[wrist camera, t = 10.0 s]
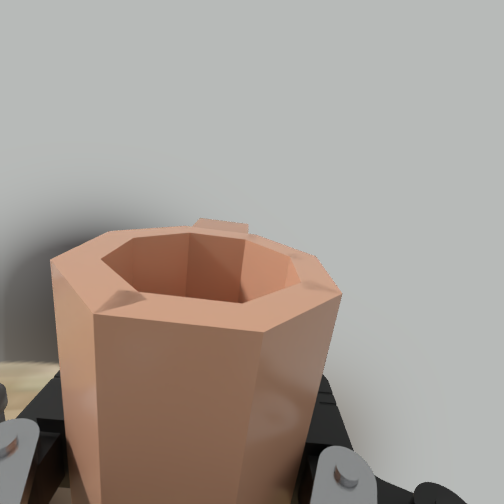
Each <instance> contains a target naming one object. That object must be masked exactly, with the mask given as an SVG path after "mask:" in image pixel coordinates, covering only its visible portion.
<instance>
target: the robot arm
mask: <svg viewBox="0 0 504 504" xmlns="http://www.w3.org/2000/svg"><path fill="white" fill-rule="evenodd" d="M58 487H60V488H70V478H69V467H68V456H67V444H66V433H65V421H64V410H63V399H62V387H61V376H60V370H59V371H58V373H57V374H56V375H55V376H54V378H53V379H51V380H50V381H49V382H48V384H47V385H46V386H45V387H44V388H43V389H42V390H41V391H40V392H39V393H38V395H37V396H36V397H35V398H34V399H33V400H32V401H31V402H30V403H29V404H28V405H27V407H26V408H25V409H24V410H23V411H22V412H21V413H20V414H19V415H18V416H17V418H16V419H11V420H7V421H4V422H1V423H0V504H49V502H50V501H51V499H52V497H53V496H54V494H55V492H56V491H57V489H58ZM290 504H466V503H465V502H464V501H463V500H462V499H461V498H460V497H459V496H458V495H456V494H455V493H453V492H452V491H450V490H449V489H447V488H445V487H444V486H441V485H439V484H436V483H431V482H424V483H421V484H419V485H418V486H417V487H416V489H415V491H414V493H412V492H409V491H407V490H405V489H402V488H400V487H397V486H395V485H392V484H390V483H387V482H385V481H383V480H381V479H380V478H378V477H376V476H375V475H374V474H373V471H372V470H371V468H370V466H369V465H368V464H367V462H366V461H365V460H364V459H363V458H362V457H361V456H359V455H358V454H357V453H356V452H354V450H353V448H352V445H351V442H350V440H349V437H348V434H347V431H346V429H345V426H344V423H343V420H342V418H341V415H340V412H339V409H338V407H337V406H336V401H335V399H334V396H333V395H332V390H331V387H330V385H329V382H328V380H327V379H326V377H325V376H324V375H323V374H322V378H321V382H320V386H319V390H318V394H317V398H316V402H315V406H314V410H313V414H312V418H311V422H310V426H309V430H308V434H307V438H306V442H305V447H304V451H303V455H302V459H301V463H300V467H299V471H298V475H297V479H296V483H295V487H294V491H293V495H292V499H291V503H290Z"/></svg>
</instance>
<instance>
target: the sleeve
mask: <svg viewBox="0 0 504 504" xmlns="http://www.w3.org/2000/svg"><path fill="white" fill-rule="evenodd" d="M50 262H51V274H52V285H53V295H54V308H55V319H56V331H57V341H58V353H59V365H60V376H61V387H62V399H63V410H64V421H65V433H66V444H67V456H68V467H69V478H70V490H71V501H72V504H290V503H291V499H292V495H293V491H294V487H295V483H296V479H297V475H298V471H299V467H300V463H301V459H302V455H303V451H304V447H305V442H306V438H307V434H308V430H309V426H310V422H311V418H312V414H313V410H314V406H315V402H316V398H317V394H318V390H319V386H320V382H321V378H322V374H323V370H324V366H325V362H326V358H327V354H328V350H329V345H330V341H331V337H332V333H333V329H334V325H335V321H336V317H337V313H338V309H339V304H340V301H341V297H342V293H341V291H340V290H339V288H338V287H337V285H336V284H335V283H334V281H333V280H332V278H331V277H330V276H329V274H328V273H327V271H326V270H325V269H324V267H323V266H322V264H321V263H320V262H319V260H318V259H317V257H316V256H313V255H310V254H308V253H305V252H302V251H299V250H296V249H294V248H291V247H288V246H286V245H282V244H280V243H277V242H274V241H272V240H269V239H266V238H263V237H261V236H258V235H254V234H248V224H243V223H235V222H227V221H219V220H211V219H203V218H200V219H199V220H198V221H197V222H196V223H195V224H194V225H193V226H192V227H190V226H177V227H162V228H148V229H133V230H120V231H108V232H106V233H104V234H102V235H100V236H98V237H96V238H94V239H92V240H90V241H88V242H86V243H84V244H82V245H80V246H78V247H75V248H73V249H71V250H69V251H67V252H65V253H63V254H61V255H59V256H57V257H55V258H53V259H51V260H50Z"/></svg>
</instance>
